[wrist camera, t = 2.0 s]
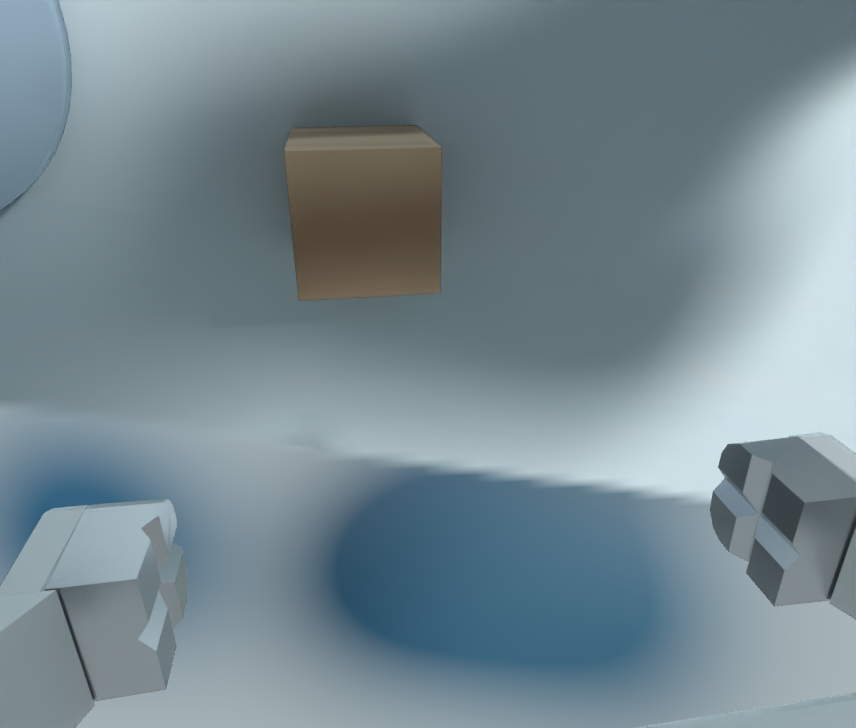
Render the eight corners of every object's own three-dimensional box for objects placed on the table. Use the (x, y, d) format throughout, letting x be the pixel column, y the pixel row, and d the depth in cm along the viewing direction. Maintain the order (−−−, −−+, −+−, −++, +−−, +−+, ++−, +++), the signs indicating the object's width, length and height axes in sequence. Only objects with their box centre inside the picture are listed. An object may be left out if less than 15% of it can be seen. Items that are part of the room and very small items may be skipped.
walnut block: (291, 127, 26) (284, 151, 20) (416, 125, 26) (441, 147, 21) (302, 250, 28) (298, 300, 23) (417, 245, 29) (440, 293, 23)
